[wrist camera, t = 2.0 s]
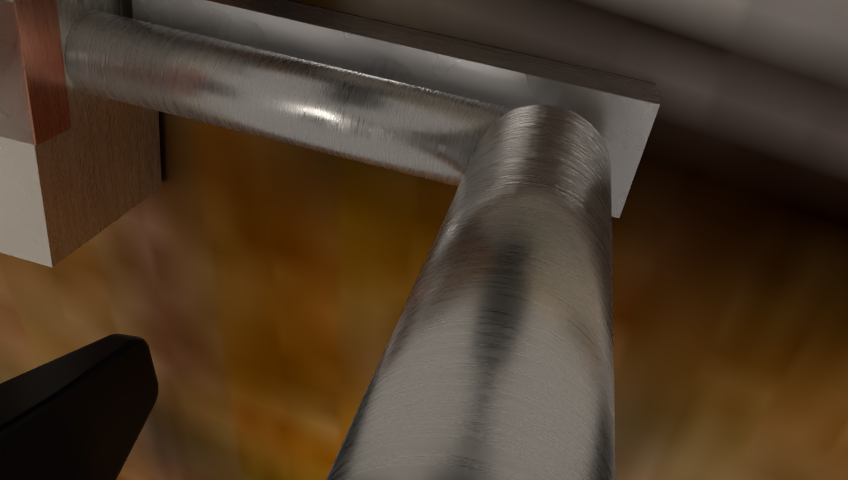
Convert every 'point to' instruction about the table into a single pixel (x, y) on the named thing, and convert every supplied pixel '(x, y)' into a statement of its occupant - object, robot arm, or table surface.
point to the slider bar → (372, 144)
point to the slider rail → (430, 66)
